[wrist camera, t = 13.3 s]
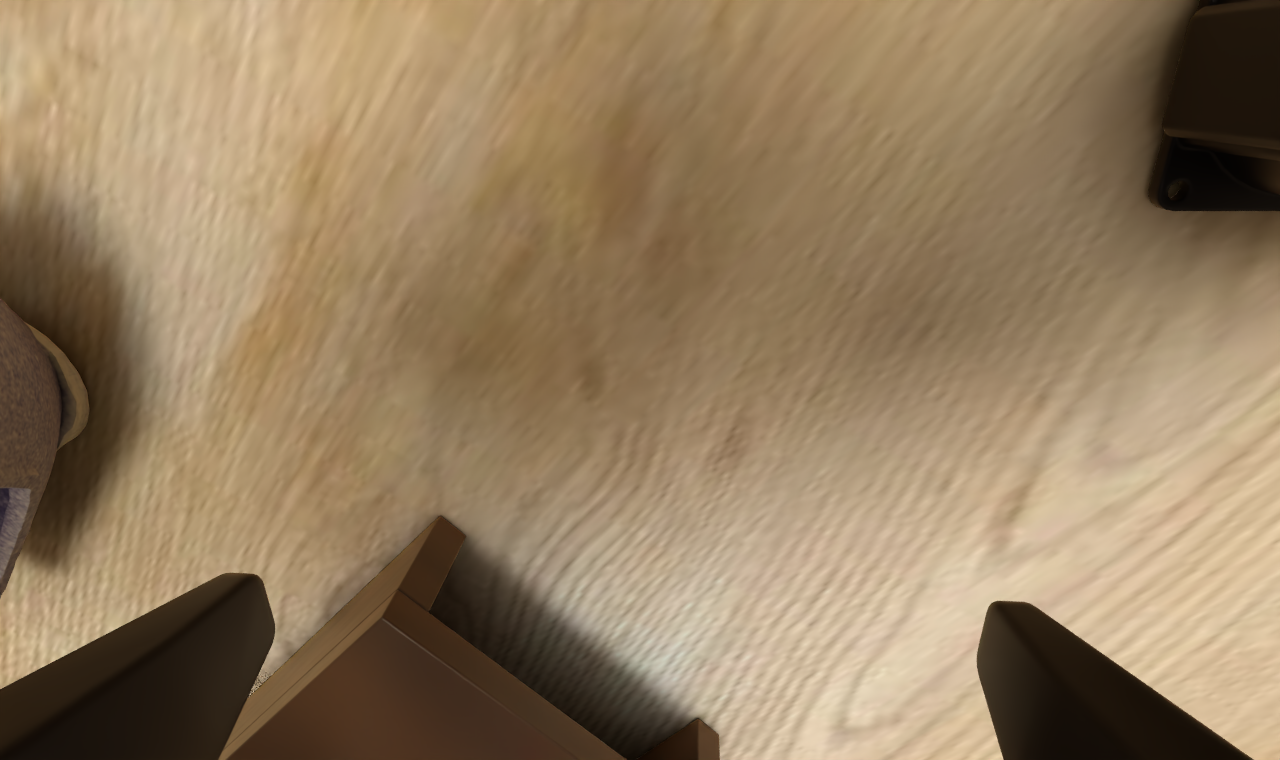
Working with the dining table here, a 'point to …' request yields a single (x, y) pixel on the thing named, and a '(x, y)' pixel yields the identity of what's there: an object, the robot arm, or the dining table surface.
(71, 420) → the toy boat
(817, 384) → the dining table surface
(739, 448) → the dining table surface
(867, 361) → the dining table surface
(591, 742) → the wooden footstool
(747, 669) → the dining table surface
